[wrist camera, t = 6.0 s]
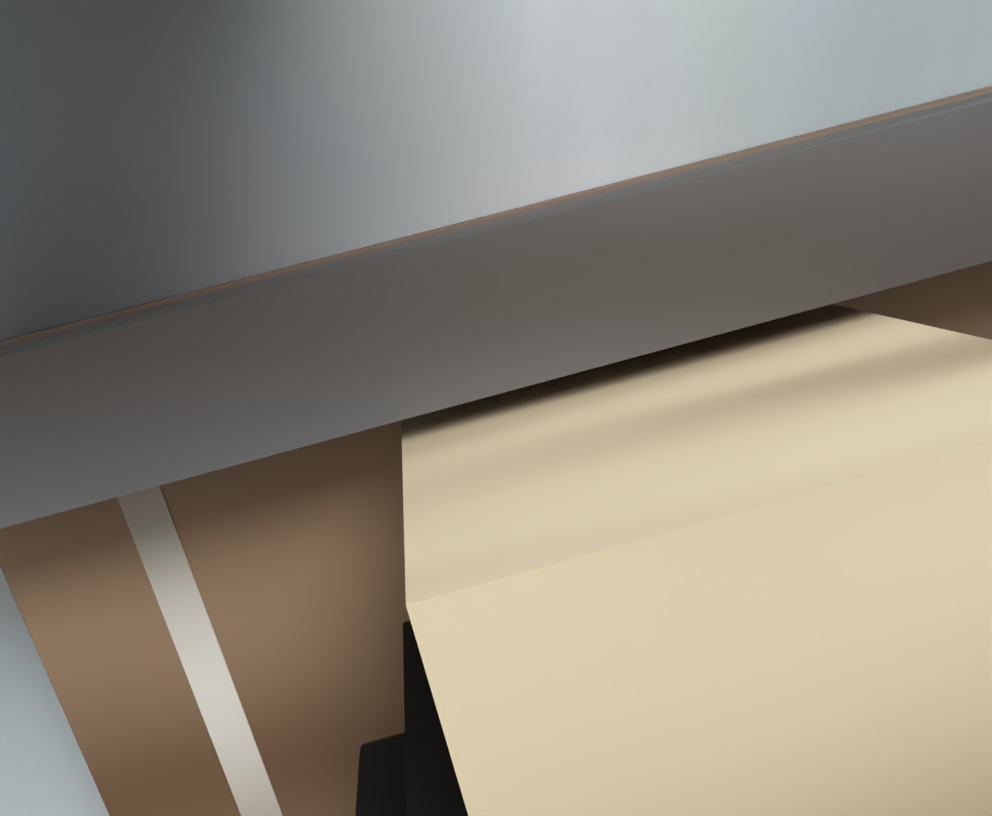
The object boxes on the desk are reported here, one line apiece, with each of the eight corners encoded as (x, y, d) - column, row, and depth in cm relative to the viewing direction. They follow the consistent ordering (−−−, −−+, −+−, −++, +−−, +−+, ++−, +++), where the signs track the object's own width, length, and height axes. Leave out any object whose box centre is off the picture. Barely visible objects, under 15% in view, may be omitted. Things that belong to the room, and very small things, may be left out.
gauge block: (401, 405, 10) (406, 604, 5) (808, 298, 10) (1198, 386, 5) (559, 972, 12) (671, 1500, 7) (889, 873, 12) (1214, 1314, 7)
